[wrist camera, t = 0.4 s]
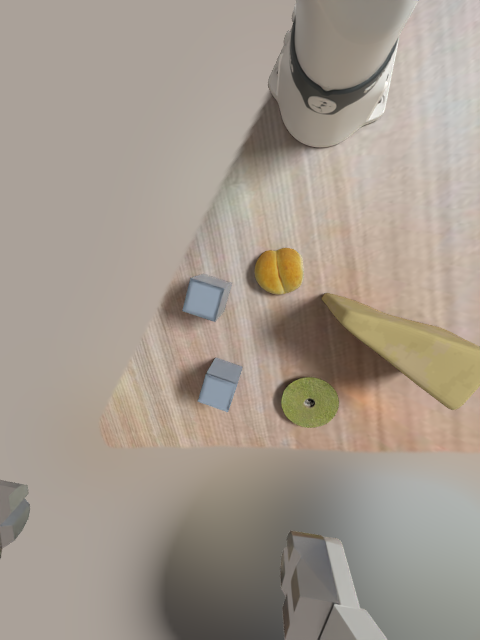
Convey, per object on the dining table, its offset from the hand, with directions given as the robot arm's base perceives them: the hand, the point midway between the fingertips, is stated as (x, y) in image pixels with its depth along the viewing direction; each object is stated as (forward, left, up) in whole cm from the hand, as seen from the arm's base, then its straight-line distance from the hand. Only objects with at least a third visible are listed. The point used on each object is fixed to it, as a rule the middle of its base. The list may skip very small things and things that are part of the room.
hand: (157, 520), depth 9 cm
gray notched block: (+3, -9, -47) cm, 48 cm away
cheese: (-1, +22, -47) cm, 52 cm away
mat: (+18, +16, -47) cm, 53 cm away
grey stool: (+19, -2, -47) cm, 51 cm away
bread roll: (-5, +2, -48) cm, 48 cm away
